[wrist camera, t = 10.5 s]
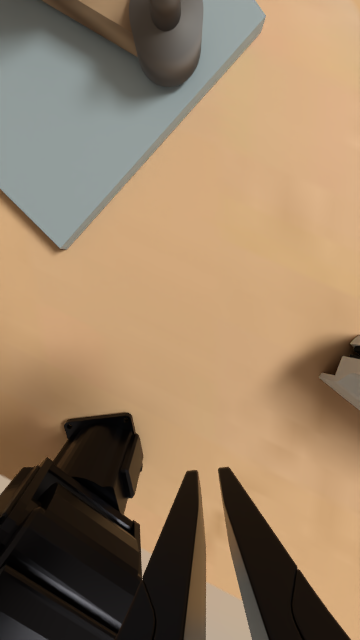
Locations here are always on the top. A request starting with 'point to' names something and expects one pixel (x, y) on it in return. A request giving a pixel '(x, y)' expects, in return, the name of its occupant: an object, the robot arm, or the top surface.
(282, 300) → the top surface
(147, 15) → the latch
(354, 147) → the top surface
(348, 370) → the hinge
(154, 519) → the top surface
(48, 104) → the board
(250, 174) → the top surface
